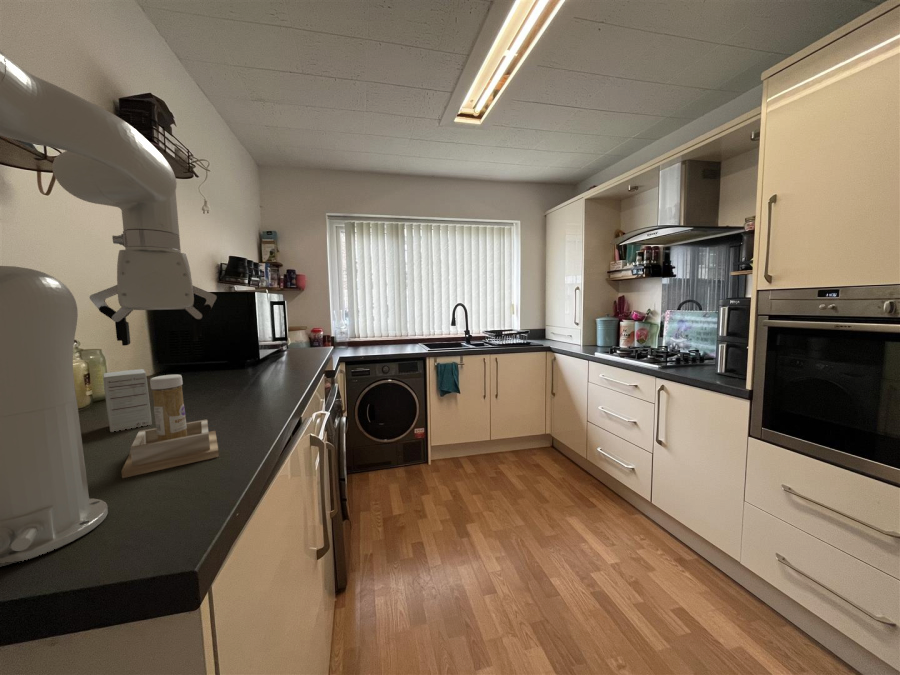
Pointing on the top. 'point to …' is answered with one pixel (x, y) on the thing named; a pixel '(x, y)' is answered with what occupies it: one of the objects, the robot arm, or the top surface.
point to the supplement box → (127, 399)
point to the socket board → (170, 449)
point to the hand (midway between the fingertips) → (162, 342)
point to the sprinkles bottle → (169, 407)
